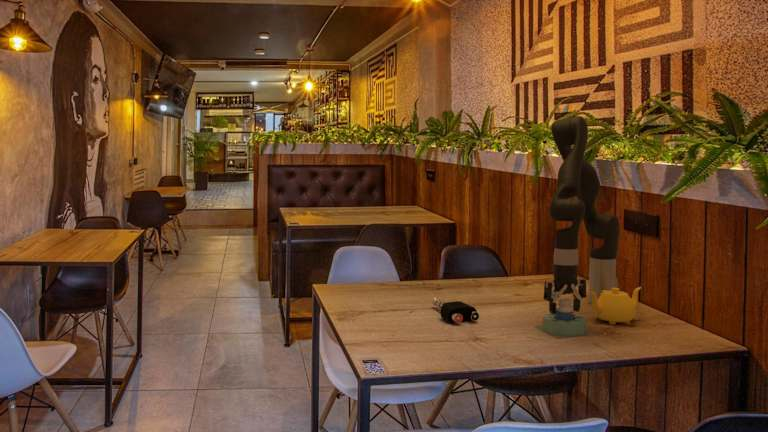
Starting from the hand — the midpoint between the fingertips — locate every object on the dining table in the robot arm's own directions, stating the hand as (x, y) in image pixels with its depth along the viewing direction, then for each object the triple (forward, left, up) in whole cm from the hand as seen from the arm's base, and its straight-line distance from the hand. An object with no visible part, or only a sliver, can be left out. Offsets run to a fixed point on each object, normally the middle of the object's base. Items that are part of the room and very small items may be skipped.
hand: (564, 312), depth 203 cm
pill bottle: (0, 0, -6) cm, 6 cm away
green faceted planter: (0, 0, -6) cm, 6 cm away
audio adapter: (+26, -30, -6) cm, 40 cm away
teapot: (-22, -4, -6) cm, 23 cm away
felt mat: (0, 0, -6) cm, 6 cm away
